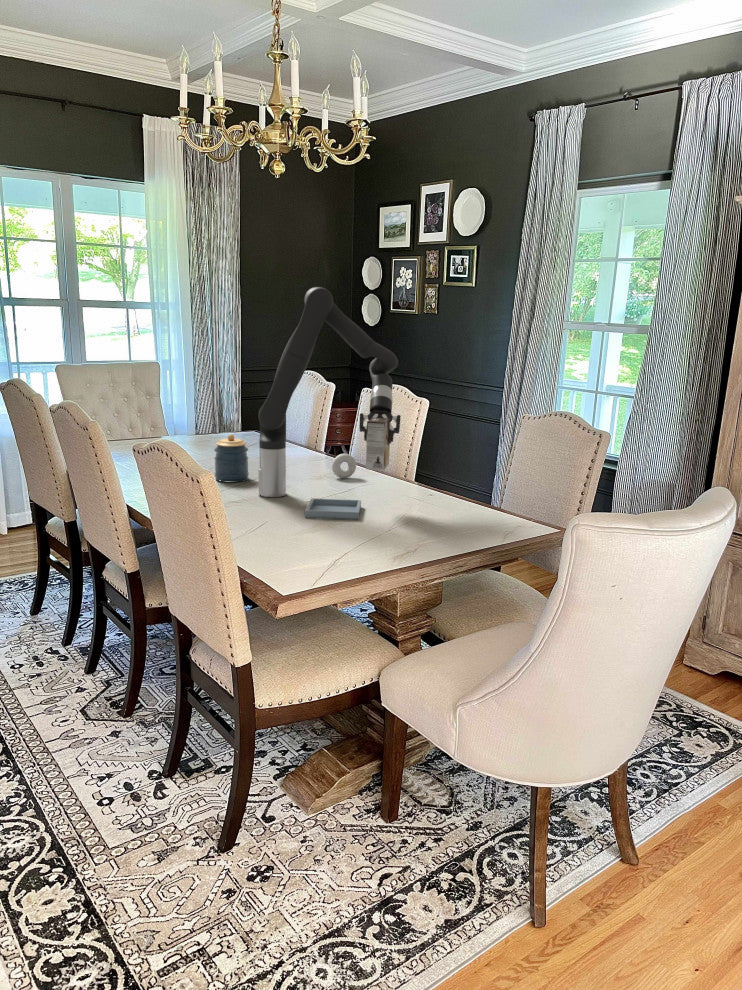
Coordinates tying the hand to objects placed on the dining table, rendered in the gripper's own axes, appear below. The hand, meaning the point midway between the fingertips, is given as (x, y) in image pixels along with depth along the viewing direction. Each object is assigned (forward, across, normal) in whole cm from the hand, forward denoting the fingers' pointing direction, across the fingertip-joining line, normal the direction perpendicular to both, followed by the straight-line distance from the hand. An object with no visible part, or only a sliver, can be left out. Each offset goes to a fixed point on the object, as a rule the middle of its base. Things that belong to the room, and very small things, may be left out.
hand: (378, 441), depth 247 cm
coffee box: (+6, 0, +7) cm, 9 cm away
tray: (+21, -14, +12) cm, 28 cm away
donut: (-15, -14, +49) cm, 53 cm away
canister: (-9, -58, +44) cm, 73 cm away
